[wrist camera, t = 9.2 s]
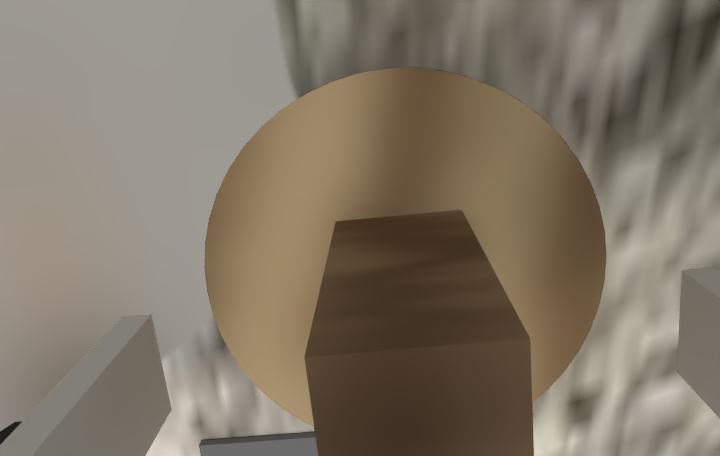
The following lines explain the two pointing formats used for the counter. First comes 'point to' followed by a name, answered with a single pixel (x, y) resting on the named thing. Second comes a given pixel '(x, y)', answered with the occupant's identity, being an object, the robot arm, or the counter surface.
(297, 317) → the lid
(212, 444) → the mat
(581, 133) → the counter surface
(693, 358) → the robot arm
